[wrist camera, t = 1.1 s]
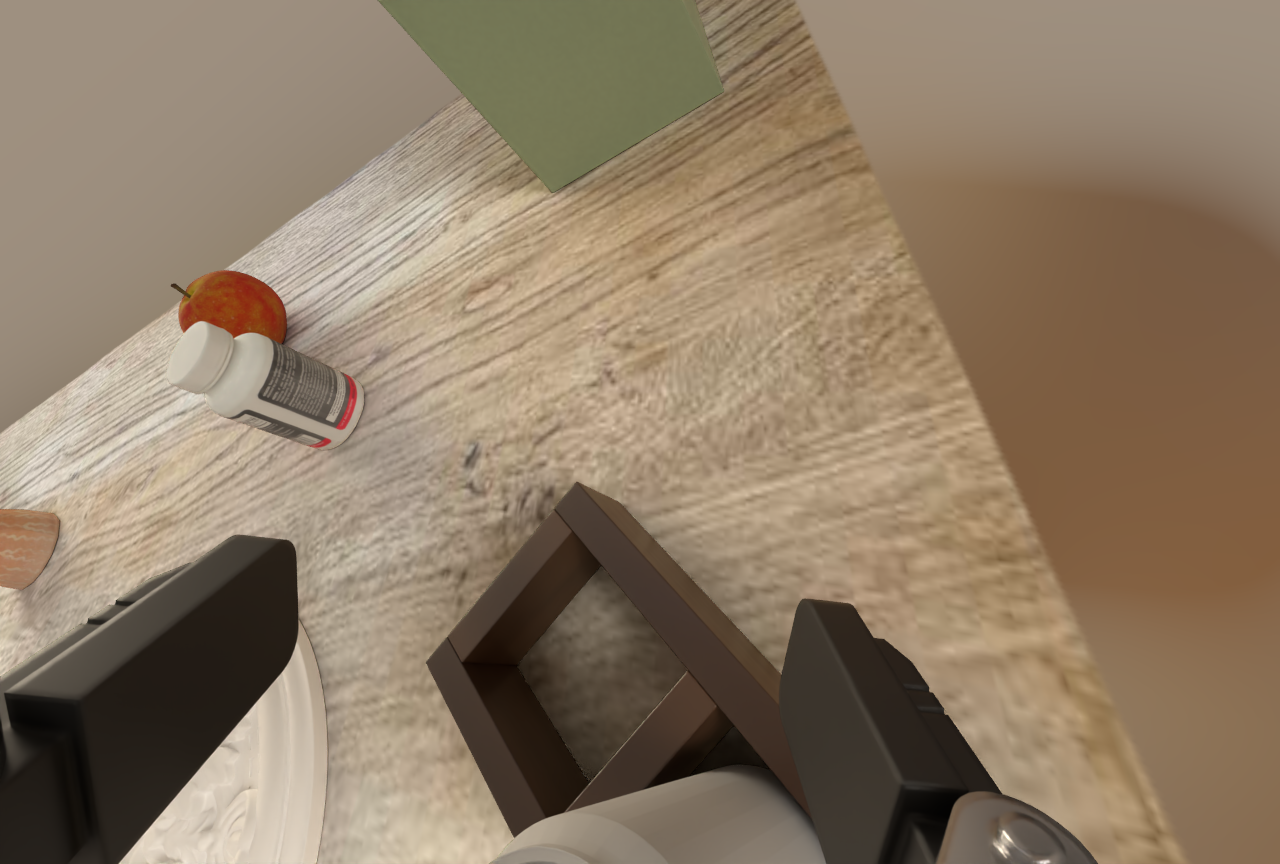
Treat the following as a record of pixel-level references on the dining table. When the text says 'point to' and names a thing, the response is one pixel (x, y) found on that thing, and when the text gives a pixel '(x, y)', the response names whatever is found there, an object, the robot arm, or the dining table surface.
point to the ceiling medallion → (254, 783)
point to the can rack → (670, 735)
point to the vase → (25, 545)
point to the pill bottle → (267, 385)
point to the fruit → (233, 305)
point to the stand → (568, 71)
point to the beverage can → (679, 826)
